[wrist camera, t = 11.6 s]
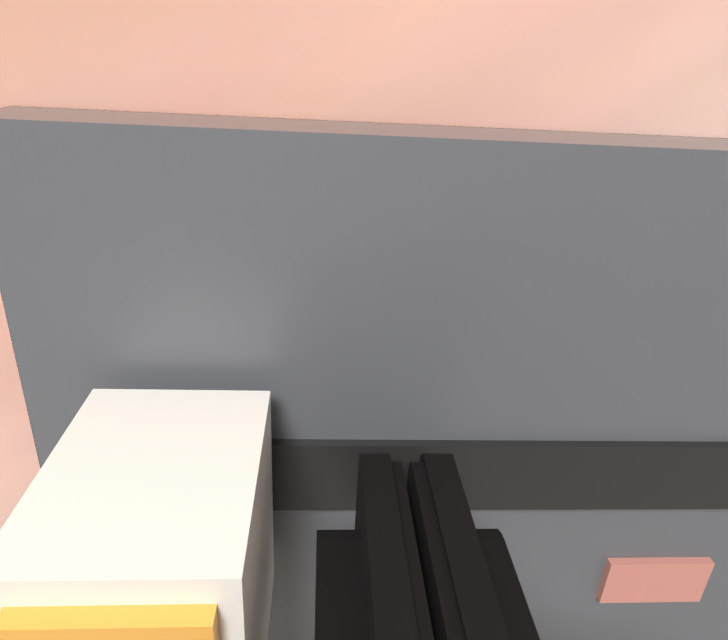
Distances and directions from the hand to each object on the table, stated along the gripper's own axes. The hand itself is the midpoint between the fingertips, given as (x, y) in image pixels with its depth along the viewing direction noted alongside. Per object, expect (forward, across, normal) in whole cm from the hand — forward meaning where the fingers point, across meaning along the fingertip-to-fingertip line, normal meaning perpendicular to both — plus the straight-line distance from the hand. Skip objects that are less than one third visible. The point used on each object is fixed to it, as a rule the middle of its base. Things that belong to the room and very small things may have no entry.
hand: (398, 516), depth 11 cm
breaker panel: (+3, -1, +6) cm, 6 cm away
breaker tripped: (+1, +4, 0) cm, 4 cm away
